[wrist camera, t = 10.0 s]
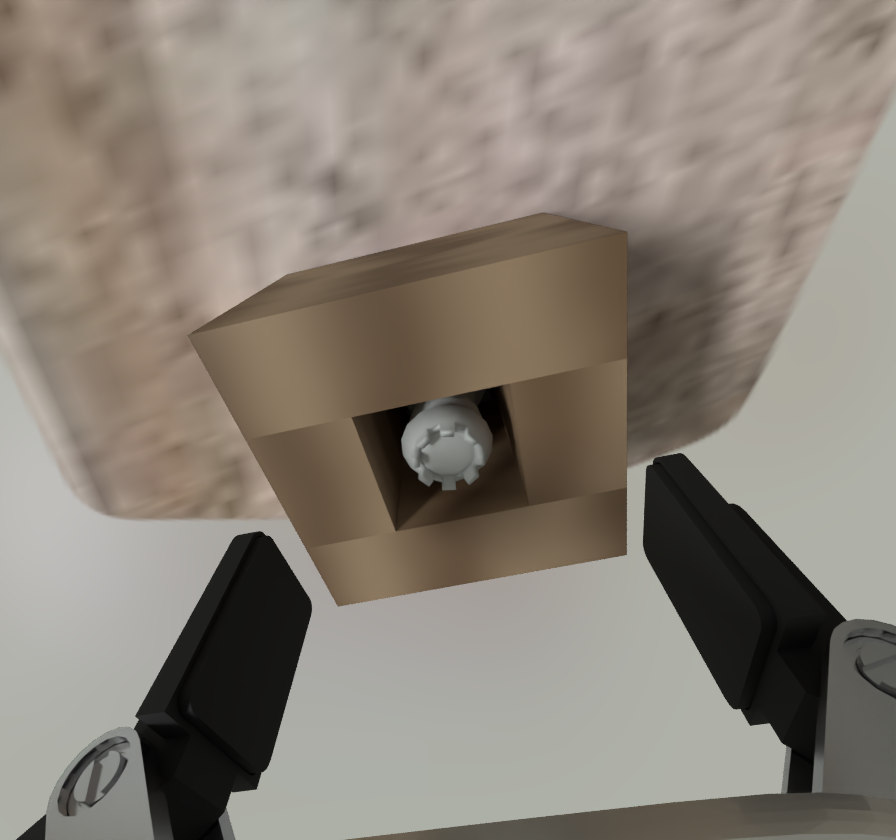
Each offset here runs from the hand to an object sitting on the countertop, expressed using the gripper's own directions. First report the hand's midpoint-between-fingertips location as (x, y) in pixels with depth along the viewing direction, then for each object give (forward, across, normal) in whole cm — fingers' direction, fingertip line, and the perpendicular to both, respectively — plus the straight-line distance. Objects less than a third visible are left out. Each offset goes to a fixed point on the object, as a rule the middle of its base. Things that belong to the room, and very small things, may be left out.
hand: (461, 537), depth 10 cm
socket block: (+13, 0, +1) cm, 13 cm away
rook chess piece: (+12, 0, +1) cm, 12 cm away
